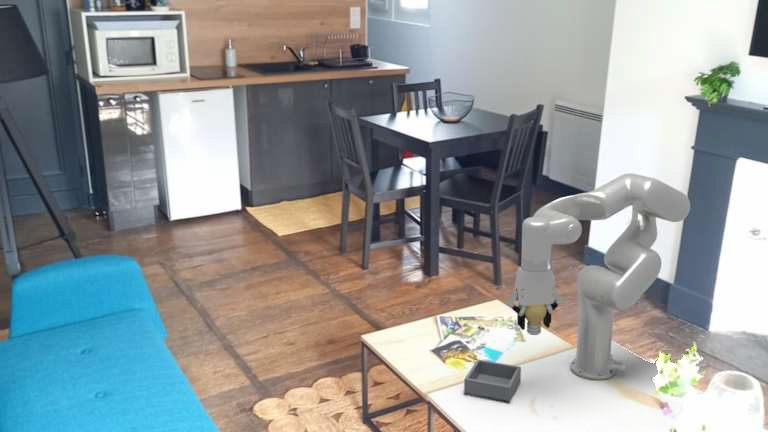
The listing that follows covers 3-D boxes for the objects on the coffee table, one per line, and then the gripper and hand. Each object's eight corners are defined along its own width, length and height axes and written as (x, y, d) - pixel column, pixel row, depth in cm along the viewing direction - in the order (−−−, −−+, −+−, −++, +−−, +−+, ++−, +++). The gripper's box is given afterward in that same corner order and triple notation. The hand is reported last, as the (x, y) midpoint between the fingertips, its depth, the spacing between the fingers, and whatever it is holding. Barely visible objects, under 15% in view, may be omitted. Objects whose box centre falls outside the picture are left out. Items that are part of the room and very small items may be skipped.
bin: (520, 382, 205) (520, 366, 204) (509, 403, 194) (509, 387, 193) (477, 374, 210) (477, 359, 209) (464, 394, 199) (464, 379, 198)
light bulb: (529, 340, 192) (530, 305, 189) (517, 330, 198) (518, 296, 195) (550, 336, 194) (551, 301, 191) (538, 326, 200) (538, 293, 197)
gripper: (562, 257, 195) (560, 318, 200) (500, 261, 193) (499, 323, 198) (572, 266, 188) (569, 330, 193) (508, 271, 186) (506, 335, 191)
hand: (534, 326), depth 195 cm, fingers closed on light bulb, 6 cm apart
